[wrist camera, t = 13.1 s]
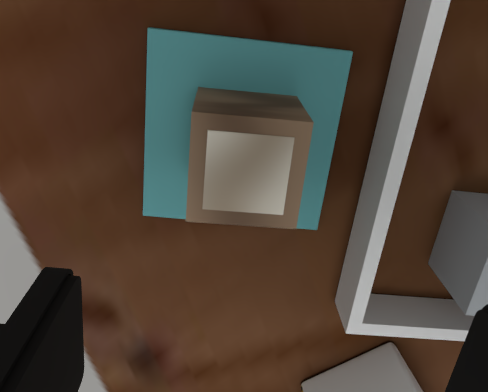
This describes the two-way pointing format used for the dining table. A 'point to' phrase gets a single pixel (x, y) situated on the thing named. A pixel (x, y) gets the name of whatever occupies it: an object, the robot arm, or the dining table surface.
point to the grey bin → (395, 195)
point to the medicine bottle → (367, 374)
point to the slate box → (463, 250)
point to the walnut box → (247, 158)
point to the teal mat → (241, 79)
